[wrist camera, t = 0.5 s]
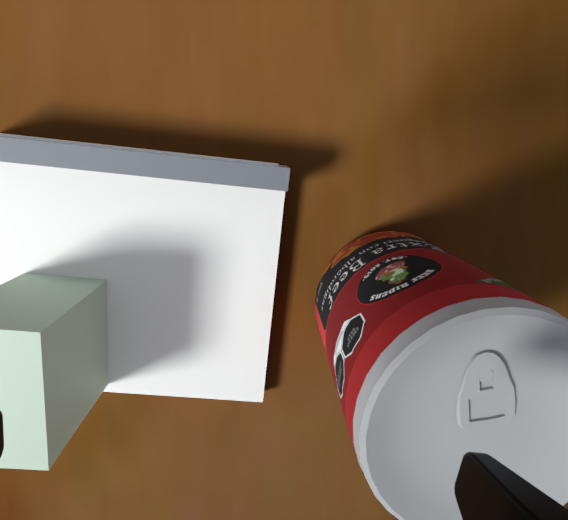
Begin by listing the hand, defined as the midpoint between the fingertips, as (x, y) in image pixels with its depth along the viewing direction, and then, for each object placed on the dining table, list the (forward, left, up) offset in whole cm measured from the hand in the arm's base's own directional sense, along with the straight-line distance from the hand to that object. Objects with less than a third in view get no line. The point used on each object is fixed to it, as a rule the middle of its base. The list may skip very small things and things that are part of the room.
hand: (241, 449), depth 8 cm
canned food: (-1, -7, -14) cm, 16 cm away
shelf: (-1, +6, -14) cm, 15 cm away
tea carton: (-4, +10, -13) cm, 16 cm away
